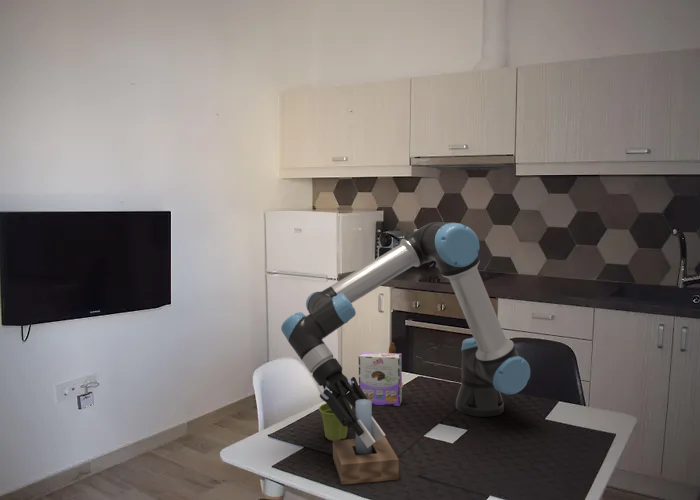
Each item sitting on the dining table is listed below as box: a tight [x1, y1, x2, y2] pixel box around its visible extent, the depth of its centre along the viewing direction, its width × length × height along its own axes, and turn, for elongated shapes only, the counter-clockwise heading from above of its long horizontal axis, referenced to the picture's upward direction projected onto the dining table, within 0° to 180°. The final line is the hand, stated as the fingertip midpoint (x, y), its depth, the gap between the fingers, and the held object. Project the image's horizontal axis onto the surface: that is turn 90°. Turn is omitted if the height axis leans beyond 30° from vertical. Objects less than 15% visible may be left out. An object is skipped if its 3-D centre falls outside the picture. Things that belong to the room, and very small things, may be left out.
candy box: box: [358, 351, 403, 407], centre depth 196 cm, size 14×6×16 cm, turn 77°
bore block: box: [332, 435, 400, 486], centre depth 148 cm, size 14×14×5 cm
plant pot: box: [318, 402, 353, 442], centre depth 168 cm, size 9×9×9 cm
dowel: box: [355, 399, 373, 455], centre depth 148 cm, size 4×4×14 cm
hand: (376, 441), depth 146 cm, fingers closed on dowel, 4 cm apart
